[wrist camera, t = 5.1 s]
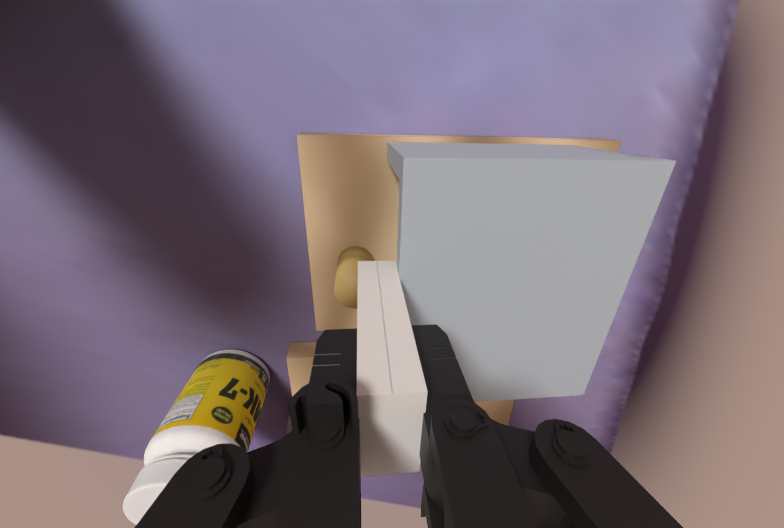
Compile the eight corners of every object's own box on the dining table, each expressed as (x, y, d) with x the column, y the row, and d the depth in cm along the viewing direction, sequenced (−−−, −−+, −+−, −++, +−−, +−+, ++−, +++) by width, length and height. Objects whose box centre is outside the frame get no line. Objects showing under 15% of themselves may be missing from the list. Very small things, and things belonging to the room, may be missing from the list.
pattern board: (318, 316, 20) (309, 367, 16) (302, 133, 16) (282, 140, 12) (552, 307, 22) (595, 351, 18) (601, 138, 17) (675, 146, 13)
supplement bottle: (284, 383, 23) (248, 520, 15) (227, 407, 23) (164, 550, 15) (244, 336, 20) (179, 466, 13) (182, 362, 21) (84, 504, 13)
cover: (384, 328, 19) (394, 407, 14) (387, 141, 14) (403, 157, 9) (525, 322, 20) (583, 394, 15) (570, 144, 15) (676, 160, 10)
